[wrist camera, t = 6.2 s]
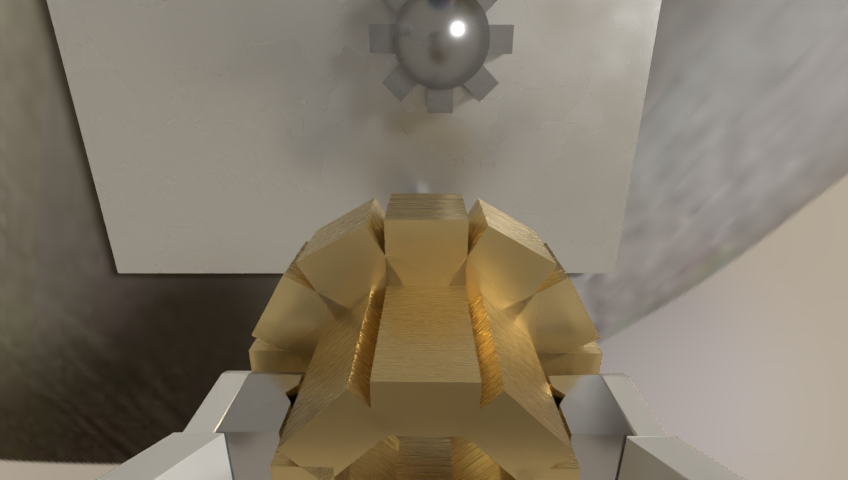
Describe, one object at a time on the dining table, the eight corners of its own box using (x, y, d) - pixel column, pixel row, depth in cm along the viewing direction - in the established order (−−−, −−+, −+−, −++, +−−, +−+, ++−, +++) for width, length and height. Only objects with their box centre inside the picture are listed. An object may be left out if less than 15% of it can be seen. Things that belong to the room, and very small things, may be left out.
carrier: (133, 261, 22) (61, 314, 17) (-13, -333, 14) (-205, -506, 10) (604, 262, 22) (650, 313, 17) (698, -322, 14) (820, -485, 10)
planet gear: (293, 446, 12) (222, 651, 8) (262, 192, 10) (135, 290, 6) (555, 448, 12) (624, 655, 8) (590, 194, 10) (717, 295, 6)
